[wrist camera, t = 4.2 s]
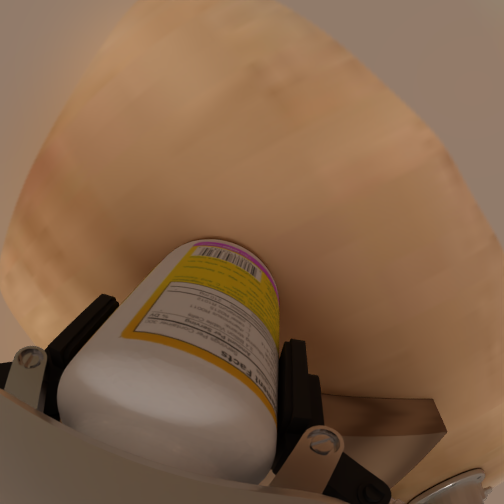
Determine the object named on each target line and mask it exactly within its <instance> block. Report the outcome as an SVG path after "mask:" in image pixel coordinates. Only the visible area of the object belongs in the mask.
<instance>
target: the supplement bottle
mask: <svg viewBox="0 0 504 504" xmlns="http://www.w3.org/2000/svg"><path fill="white" fill-rule="evenodd" d="M278 373H279V296H278V290H277V287H276V284H275V281H274V279H273V277H272V275H271V273H270V272H269V270H268V269H267V267H266V266H265V265H264V264H263V263H262V262H261V261H260V260H259V259H258V258H257V257H256V256H255V255H254V254H252V253H251V252H250V251H248V250H246V249H245V248H243V247H241V246H239V245H236V244H234V243H231V242H228V241H223V240H216V239H203V240H196V241H192V242H189V243H186V244H184V245H182V246H180V247H178V248H176V249H175V250H173V251H172V252H171V253H169V254H168V255H167V256H166V257H165V258H164V259H163V260H162V261H161V262H160V263H159V264H158V265H157V266H156V267H155V268H154V269H153V270H152V271H151V272H150V273H149V274H148V276H147V277H146V278H145V279H144V280H143V281H142V282H141V283H140V284H139V285H138V286H137V287H136V289H135V290H134V291H133V292H132V293H131V294H130V295H129V296H128V297H127V298H126V299H125V300H124V301H123V303H122V304H121V305H120V306H119V307H118V308H117V309H116V310H115V311H114V313H113V314H112V315H111V316H110V317H109V318H108V319H107V320H106V321H105V323H104V324H103V325H102V326H101V327H100V328H99V329H98V330H97V332H96V333H95V334H94V335H93V336H92V337H91V338H90V339H89V340H88V342H87V343H86V344H85V345H84V346H83V347H82V348H81V350H80V351H79V352H78V353H77V354H76V356H75V357H74V358H73V359H72V360H71V362H70V363H69V364H68V366H67V367H66V368H65V370H64V372H63V374H62V376H61V379H60V382H59V385H58V390H57V405H58V411H59V415H60V418H61V421H62V424H64V425H66V426H68V427H70V428H72V429H74V430H76V431H78V432H81V433H83V434H85V435H87V436H89V437H92V438H94V439H96V440H98V441H101V442H103V443H105V444H108V445H110V446H113V447H115V448H118V449H120V450H123V451H126V452H128V453H131V454H134V455H137V456H140V457H143V458H146V459H149V460H152V461H155V462H158V463H161V464H165V465H168V466H171V467H175V468H178V469H182V470H186V471H190V472H194V473H198V474H202V475H207V476H211V477H216V478H221V479H226V480H232V481H237V482H243V483H249V484H255V485H258V484H259V483H260V482H262V481H263V480H264V478H265V477H266V476H267V474H268V473H269V471H270V469H271V467H272V465H273V462H274V459H275V454H276V444H277V414H278Z"/></svg>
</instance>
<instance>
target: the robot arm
mask: <svg viewBox="0 0 504 504" xmlns="http://www.w3.org/2000/svg"><path fill="white" fill-rule="evenodd" d="M118 307H119V303H118V302H117V301H116V299H115V297H112V296H109V295H106V294H101V295H100V296H99V297H98V298H97V299H96V300H95V301H94V302H93V303H91V304H90V305H89V306H88V307H87V308H86V309H85V310H84V311H83V312H82V313H81V314H80V315H79V316H78V317H77V318H76V319H75V320H74V321H73V322H72V323H71V324H69V325H68V326H67V327H66V328H65V329H64V330H63V331H62V332H61V333H60V334H59V335H58V336H57V337H56V338H55V339H54V340H53V341H52V342H51V343H50V344H49V345H48V347H47V348H46V349H45V350H43V349H42V348H40V347H36V346H27V347H24V348H22V349H20V350H19V351H18V352H17V353H16V355H15V357H14V360H13V362H7V363H0V504H405V503H404V502H402V501H401V500H400V499H397V500H395V499H393V498H392V497H391V490H390V488H389V487H388V485H387V484H386V483H385V482H384V481H382V480H381V479H379V478H378V477H377V476H375V475H374V474H372V473H371V472H370V471H368V470H367V469H366V468H364V467H363V466H361V465H360V464H359V463H357V462H356V461H355V460H353V459H352V458H351V457H349V456H348V455H347V454H345V453H344V452H343V450H344V440H343V438H342V436H341V435H340V434H339V433H338V432H337V431H336V430H334V429H333V428H330V427H327V426H325V424H324V415H323V406H322V397H321V388H320V380H319V377H318V375H311V374H308V366H307V355H306V345H305V341H302V340H296V339H291V340H290V342H286V341H285V343H284V345H283V349H282V352H281V355H280V358H279V373H278V414H277V444H276V454H275V459H274V462H273V465H272V467H271V470H272V472H273V473H274V474H275V475H276V476H275V477H274V479H273V480H272V481H271V483H270V484H269V486H262V485H255V484H249V483H243V482H237V481H232V480H226V479H221V478H216V477H211V476H207V475H202V474H198V473H194V472H190V471H186V470H182V469H178V468H175V467H171V466H168V465H165V464H161V463H158V462H155V461H152V460H149V459H146V458H143V457H140V456H137V455H134V454H131V453H128V452H126V451H123V450H120V449H118V448H115V447H113V446H110V445H108V444H105V443H103V442H101V441H98V440H96V439H94V438H92V437H89V436H87V435H85V434H83V433H81V432H78V431H76V430H74V429H72V428H70V427H68V426H66V425H64V424H62V421H61V418H60V415H59V411H58V405H57V390H58V385H59V382H60V379H61V376H62V374H63V372H64V370H65V368H66V367H67V366H68V364H69V363H70V362H71V360H72V359H73V358H74V357H75V356H76V354H77V353H78V352H79V351H80V350H81V348H82V347H83V346H84V345H85V344H86V343H87V342H88V340H89V339H90V338H91V337H92V336H93V335H94V334H95V333H96V332H97V330H98V329H99V328H100V327H101V326H102V325H103V324H104V323H105V321H106V320H107V319H108V318H109V317H110V316H111V315H112V314H113V313H114V311H115V310H116V309H117V308H118ZM484 478H485V473H484V471H483V470H482V469H475V470H471V471H468V472H465V473H462V474H460V475H458V476H455V477H453V478H451V479H449V480H447V481H445V482H443V483H440V484H438V485H437V486H435V487H433V488H431V489H429V490H427V491H426V492H424V493H422V494H421V495H419V496H418V497H416V498H415V499H413V500H412V501H411V502H410V503H409V504H484V502H483V501H485V500H486V499H487V496H488V494H490V493H491V492H492V487H490V486H489V487H487V488H484V489H483V488H482V485H481V482H482V481H483V480H484Z"/></svg>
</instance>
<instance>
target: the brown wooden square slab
mask: <svg viewBox="0 0 504 504" xmlns="http://www.w3.org/2000/svg"><path fill="white" fill-rule="evenodd" d="M321 397H322V406H323V415H324V424H325V426H327V427H330V428H333V429H334V430H336V431H337V432H338V433H339V434H340V435H341V436H342V438H343V440H344V450H343V452H344V453H345V454H347V455H348V456H349V457H351V458H352V459H353V460H355V461H356V462H357V463H359V464H360V465H361V466H363V467H364V468H366V469H367V470H368V471H370V472H371V473H372V474H374V475H375V476H377V477H378V478H379V479H381V480H382V481H384V482H385V483H386V484H387V485H388V487H389V488H390V489H391V488H392V487H393V486H394V485H395V484H396V483H398V482H399V481H400V480H401V479H402V478H403V477H404V476H405V475H406V474H408V473H409V472H410V471H411V470H412V469H413V468H414V467H415V466H416V465H417V464H418V463H419V462H420V461H421V460H422V459H423V458H424V457H425V456H426V455H427V454H428V453H429V452H430V451H431V450H432V449H433V448H434V447H435V445H436V444H437V443H438V442H439V441H440V440H441V439H442V438H443V437H444V435H445V434H446V433H447V430H446V427H445V425H444V423H443V420H442V418H441V416H440V414H439V411H438V409H437V407H436V405H435V403H434V401H433V399H380V398H361V397H348V396H336V395H326V394H321ZM275 476H276V475H275V474H274V473H273V472H272V470H271V469H270V471H269V473H268V474H267V476H266V477H265V478H264V480H263V481H262V482H260V483H259V484H258V485H262V486H269V484H270V483H271V481H272V480H273V479H274V477H275Z"/></svg>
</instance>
